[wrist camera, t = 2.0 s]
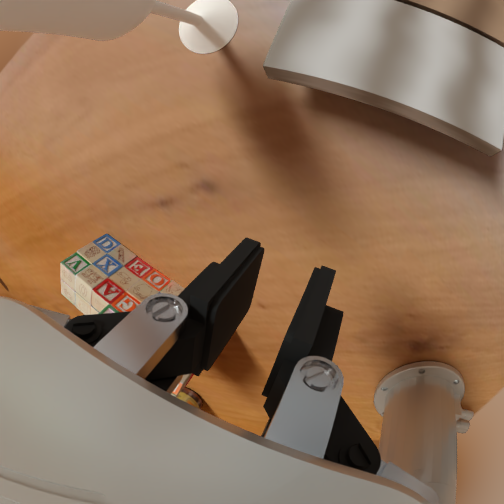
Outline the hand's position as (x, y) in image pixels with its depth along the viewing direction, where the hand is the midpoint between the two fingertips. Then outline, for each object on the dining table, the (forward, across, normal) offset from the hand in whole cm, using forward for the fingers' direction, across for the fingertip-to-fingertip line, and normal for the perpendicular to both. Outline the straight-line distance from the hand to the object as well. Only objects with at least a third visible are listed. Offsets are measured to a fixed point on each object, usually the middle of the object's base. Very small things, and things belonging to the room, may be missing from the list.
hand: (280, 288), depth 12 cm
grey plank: (+17, -2, -12) cm, 20 cm away
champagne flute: (+19, +16, -12) cm, 28 cm away
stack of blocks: (+20, +18, +22) cm, 35 cm away
